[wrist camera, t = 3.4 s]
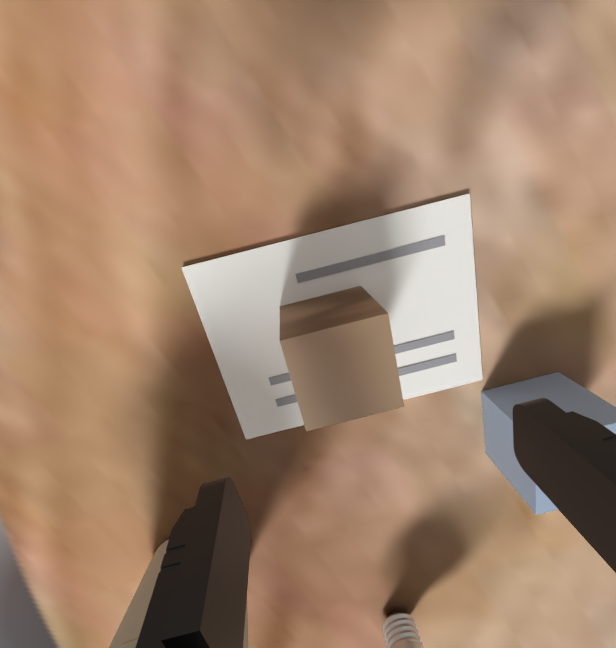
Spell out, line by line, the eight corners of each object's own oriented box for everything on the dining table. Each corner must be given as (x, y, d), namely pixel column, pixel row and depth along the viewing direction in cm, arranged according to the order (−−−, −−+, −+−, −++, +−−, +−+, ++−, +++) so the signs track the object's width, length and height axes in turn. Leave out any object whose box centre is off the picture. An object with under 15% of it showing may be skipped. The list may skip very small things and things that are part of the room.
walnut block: (360, 285, 19) (388, 313, 14) (375, 359, 20) (404, 406, 15) (279, 306, 19) (279, 340, 14) (300, 378, 20) (306, 431, 15)
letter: (467, 193, 18) (470, 193, 17) (480, 378, 21) (482, 380, 21) (182, 266, 18) (181, 267, 18) (246, 437, 22) (245, 440, 21)
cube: (557, 371, 22) (633, 418, 17) (556, 434, 24) (625, 492, 19) (480, 390, 22) (535, 442, 17) (485, 452, 24) (535, 514, 19)
